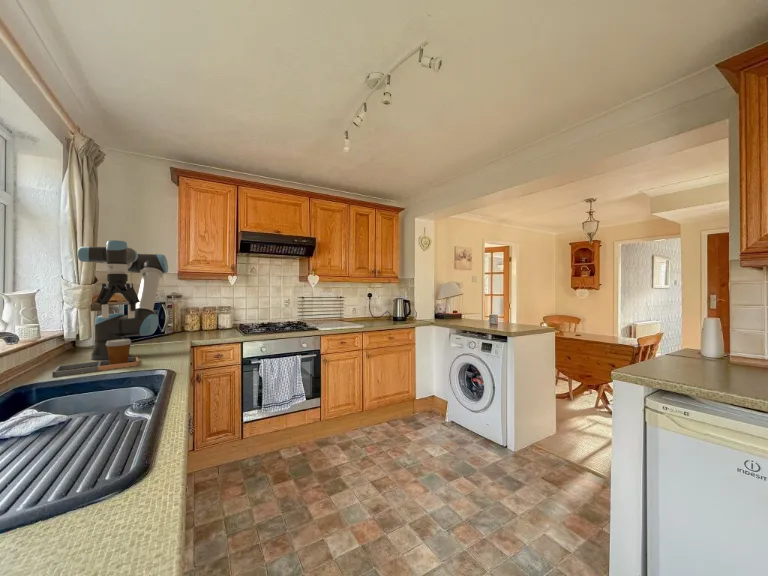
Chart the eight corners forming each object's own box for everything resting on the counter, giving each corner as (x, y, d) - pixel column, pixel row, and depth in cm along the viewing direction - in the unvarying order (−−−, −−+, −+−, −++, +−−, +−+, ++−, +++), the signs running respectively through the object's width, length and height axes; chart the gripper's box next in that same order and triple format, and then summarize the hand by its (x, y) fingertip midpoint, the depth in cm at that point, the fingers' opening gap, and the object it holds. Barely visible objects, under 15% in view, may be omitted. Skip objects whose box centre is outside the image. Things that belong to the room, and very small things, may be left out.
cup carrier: (58, 370, 144) (58, 365, 144) (137, 360, 162) (137, 356, 162) (52, 377, 132) (52, 372, 132) (138, 365, 150) (138, 361, 150)
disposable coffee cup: (133, 365, 152) (133, 340, 152) (107, 369, 145) (106, 342, 145) (129, 362, 158) (129, 338, 158) (104, 365, 151) (104, 340, 151)
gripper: (85, 273, 149) (86, 318, 149) (134, 272, 146) (135, 318, 146) (101, 274, 156) (102, 317, 157) (148, 273, 154) (149, 317, 154)
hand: (118, 318), depth 152 cm, fingers open, 13 cm apart
